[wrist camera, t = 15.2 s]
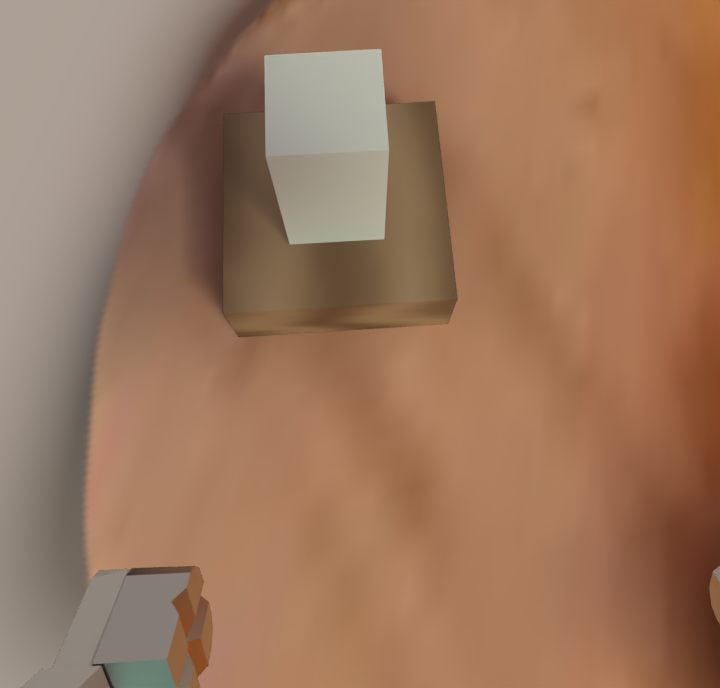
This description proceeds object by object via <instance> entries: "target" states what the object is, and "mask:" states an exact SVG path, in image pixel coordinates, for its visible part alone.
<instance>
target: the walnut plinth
mask: <svg viewBox="0 0 720 688" xmlns="http://www.w3.org/2000/svg"><path fill="white" fill-rule="evenodd" d="M385 105H386V117H387V130H388V142H389V161H388V179H387V198H386V217H385V235H384V239H379V240H361V241H343V242H325V243H307V244H289V240H288V237H287V233H286V229H285V226H284V222H283V218H282V215H281V211H280V207H279V204H278V200H277V196H276V193H275V189H274V186H273V182H272V178H271V175H270V171H269V167H268V164H267V160H266V148H265V112H250V113H234V114H224V130H223V314H224V316H225V317H226V319H227V320H228V322H229V323H230V325H231V326H232V328H233V329H234V331H235V332H236V334H237V335H238V337H247V336H263V335H279V334H295V333H311V332H327V331H343V330H359V329H374V328H390V327H406V326H422V325H438V324H448V323H449V320H450V317H451V315H452V312H453V309H454V307H455V304H456V302H457V299H458V298H457V289H456V281H455V272H454V263H453V255H452V246H451V237H450V229H449V220H448V211H447V202H446V194H445V185H444V176H443V168H442V159H441V150H440V142H439V133H438V124H437V115H436V107H435V101H431V102H414V103H398V104H385Z"/></svg>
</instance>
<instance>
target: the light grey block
mask: <svg viewBox="0 0 720 688" xmlns="http://www.w3.org/2000/svg"><path fill="white" fill-rule="evenodd" d="M264 67H265V148H266V160H267V164H268V167H269V171H270V175H271V178H272V182H273V186H274V189H275V193H276V196H277V200H278V204H279V207H280V211H281V215H282V218H283V222H284V226H285V229H286V233H287V237H288V240H289V244H307V243H325V242H343V241H361V240H379V239H384V235H385V217H386V198H387V179H388V161H389V142H388V130H387V117H386V105H385V92H384V79H383V67H382V54H381V49H370V50H351V51H333V52H315V53H297V54H278V55H264Z"/></svg>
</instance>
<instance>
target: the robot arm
mask: <svg viewBox="0 0 720 688" xmlns="http://www.w3.org/2000/svg"><path fill="white" fill-rule="evenodd" d="M719 552H720V550H719ZM203 583H204V581H203V578H202V575H201V571H200V568H199V567H196V566H182V567H153V568H132V569H111V570H99V571H98V572H97V573H96V575H95V576H94V577H93V578H92V579H91V581H90V583H89V585H88V588H87V590H86V592H85V594H84V597H83V599H82V601H81V603H80V606H79V608H78V610H77V612H76V615H75V617H74V619H73V621H72V624H71V626H70V628H69V631H68V633H67V635H66V637H65V640H64V642H63V644H62V646H61V649H60V651H59V653H58V655H57V658H56V660H55V662H54V665H53V667H52V668H48V669H41V670H40V671H39V672H38V673H37V674H35V675H34V676H33V677H32V678H31V679H30V680H29V681H28V682H26V683H25V684H24V685H23V686H22V687H21V688H200V684H199V681H198V676H199V675H200V674H201V673H202V672H203V671H204V670H205V669H206V667H207V666H208V663H209V658H210V653H211V647H212V630H213V625H212V614H211V609H210V605H209V602H208V601H207V600H206V599H204V598H203V597H202V596H201V592H202V587H203ZM709 591H710V599H711V606H712V608H713V611H714V613H715V616H716V619H717V621H718V622H719V624H720V566H719V567H718V568H716V569H715V570H714V571H713V573H712V577H711V581H710V585H709Z"/></svg>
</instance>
